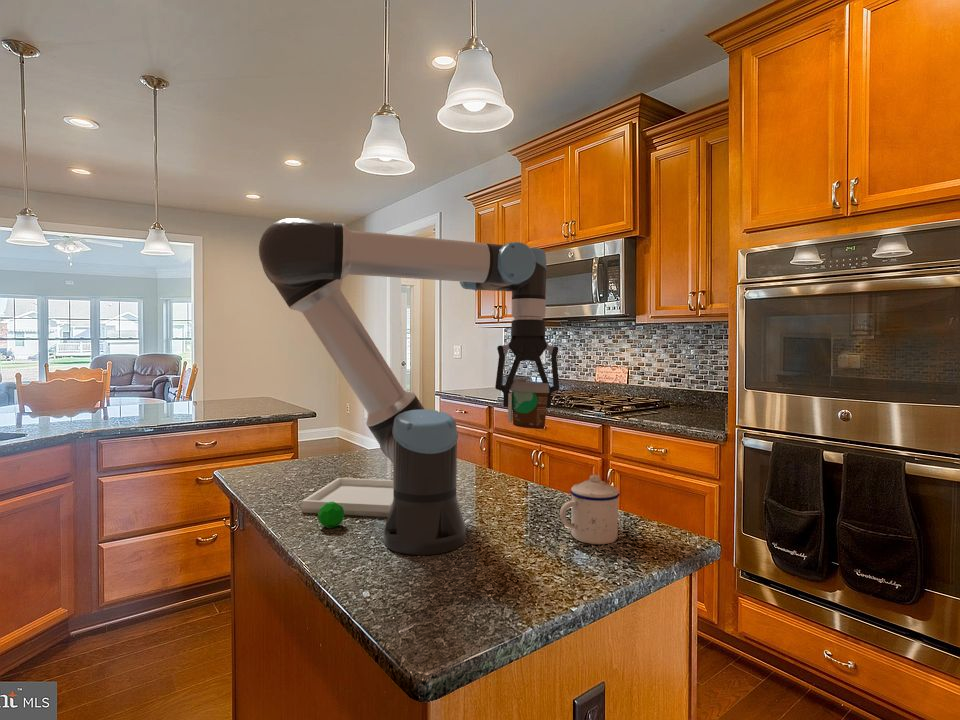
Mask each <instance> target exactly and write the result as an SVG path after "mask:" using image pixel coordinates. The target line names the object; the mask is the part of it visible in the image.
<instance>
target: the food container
mask: <svg viewBox="0 0 960 720" xmlns="http://www.w3.org/2000/svg"><path fill="white" fill-rule="evenodd" d="M549 385H550V382H549V383H542V382H530V381H529V382H528V381H527V378H516V379H515V378H514V380H513V381H512V384H511V386H510V390H511V392H512V405H513V410H512V425H513V426H515V427H517V428H518V427H519V428H526V429H535V430H536V429H537V430H538V429H540V430H542V429H543V430H544V429H546V428H545V427H546V419H547V418H546V416H547V409H548V408H547V397H548V393H549ZM510 390H509V391H510ZM545 418H546V419H545Z"/></svg>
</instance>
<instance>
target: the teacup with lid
mask: <svg viewBox="0 0 960 720" xmlns="http://www.w3.org/2000/svg"><path fill="white" fill-rule="evenodd" d="M570 494H571V500H570V501H569V500H568V501H566V502H565V503H563V504H562V506H561V507H560V511H559V517H560V521H561V522H562V524H563V525H564V526H565V527H567V528H569V529H570V533H571V534H570V535H571V536H572V537H573V538H574V539H575V540H577V541H579V542H581V543H585V544H590V545H606V544H612V543H615V541H616V540H617V539H618V536H619V535H618V533H619V532H618V529H619V528H618V527H619V497H620V491H619V489H618V488H617V487H616V486H613V485H611V484H608V483H607V482H606V481H603V480H601V476H600V475H599V474H591V475H590V476H589V479H586V480H584V481H583V482H580V483H576V484H573V486H572V487H571V489H570ZM570 507H571V508H570ZM569 508H570V509H571V510H570V511H571V512H570V513H571V514H570V515H571V516H570V517H571V520H570V522H571V523H569V522H568V519H567V517H566V513H567V511H568V509H569Z"/></svg>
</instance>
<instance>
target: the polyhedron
mask: <svg viewBox="0 0 960 720" xmlns="http://www.w3.org/2000/svg"><path fill="white" fill-rule="evenodd" d="M344 517H345V515H344V510H343V507H342V506H340V505H338V504H337V503H335V502H328V503H326V504H325V505H324V506H322V507H321V508H320V510H319V513H317V519H318V522H319V524H321V525H323V526H324V527H325V528H328V529H333V528H334V527H335V528H336V527H338V526H339V525H340V524H341V523H342V522H343V520H344Z"/></svg>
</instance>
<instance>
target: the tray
mask: <svg viewBox="0 0 960 720" xmlns="http://www.w3.org/2000/svg"><path fill="white" fill-rule="evenodd" d="M328 502H335V503H337V504H338V505H340V506H342V507H343V510H344V516H356V517H357V516H358V517H359V516H360V517H361V516H362V517H377V518H378V517H379V518H380V517H381V518H388V515H389V512H390V508H391V505H392V502H393V479H373V478H372V479H369V478H351V477H350V478H349V477H337V478H335V479H334V480H332V481H331V482H329V483H328V484H326V485H325V486H323V487H322V488H320V489H319V490H317V491H315V492H313V493H312V494H310V495H308V496H307V497H305V498H303V499H302V500H301V513H305V514H319V510H320V508H321V507H322V506H324V505H325V504H326V503H328Z"/></svg>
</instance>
